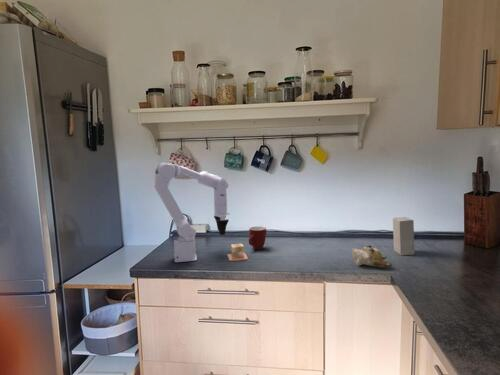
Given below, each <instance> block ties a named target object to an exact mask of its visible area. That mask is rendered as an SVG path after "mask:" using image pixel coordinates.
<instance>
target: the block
mask: <svg viewBox="0 0 500 375" xmlns="http://www.w3.org/2000/svg"><path fill="white" fill-rule="evenodd" d="M244 253H245V248H244V245H243V244H242V243H231V244H230V254H231V256H232V258H244Z"/></svg>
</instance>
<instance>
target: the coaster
mask: <svg viewBox="0 0 500 375" xmlns="http://www.w3.org/2000/svg"><path fill="white" fill-rule="evenodd" d="M227 258H228V260H229V262H235V261H236V262H238V261H239V262H240V261H248V260H249V258H248V256H247V254H246V253H245V252H244V258H232V256H231V253H229V254H227Z"/></svg>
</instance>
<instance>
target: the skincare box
mask: <svg viewBox="0 0 500 375" xmlns="http://www.w3.org/2000/svg"><path fill="white" fill-rule="evenodd" d="M414 224H415V223H414V219H411V218H410V217H406V216H404V217H403V216H402V217H392V233H393V251H394V252H396V253H397V254H398V255H400V256H407V255H408V256H414V255H415V232H414V230H415V228H414V227H415V225H414Z"/></svg>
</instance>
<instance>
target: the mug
mask: <svg viewBox="0 0 500 375" xmlns="http://www.w3.org/2000/svg"><path fill="white" fill-rule="evenodd" d="M248 230H249V231H248V232H249V238H248V244H249V245H250V246H251V247H252V248H253V249H254V250H256V251H258V250H259V251H261V250H262V249H263V248H264V246H265V244H266V237H267V228H266V227H264V226H251V227H249V229H248Z"/></svg>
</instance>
